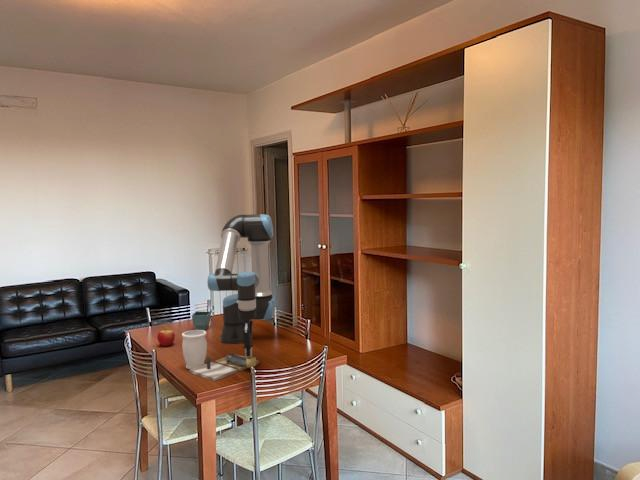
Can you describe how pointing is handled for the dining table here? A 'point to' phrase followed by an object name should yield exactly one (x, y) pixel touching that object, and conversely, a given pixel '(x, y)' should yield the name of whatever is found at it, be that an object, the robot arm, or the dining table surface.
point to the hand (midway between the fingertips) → (248, 362)
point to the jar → (194, 348)
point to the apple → (166, 337)
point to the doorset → (218, 369)
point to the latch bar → (241, 360)
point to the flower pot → (201, 320)
